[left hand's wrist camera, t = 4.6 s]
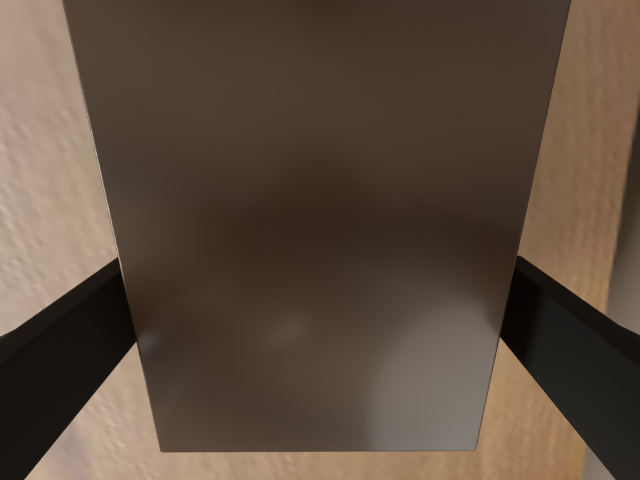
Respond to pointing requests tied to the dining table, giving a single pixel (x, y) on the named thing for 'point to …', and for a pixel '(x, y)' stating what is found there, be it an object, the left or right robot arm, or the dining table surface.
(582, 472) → the dining table surface
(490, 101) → the cabinet
